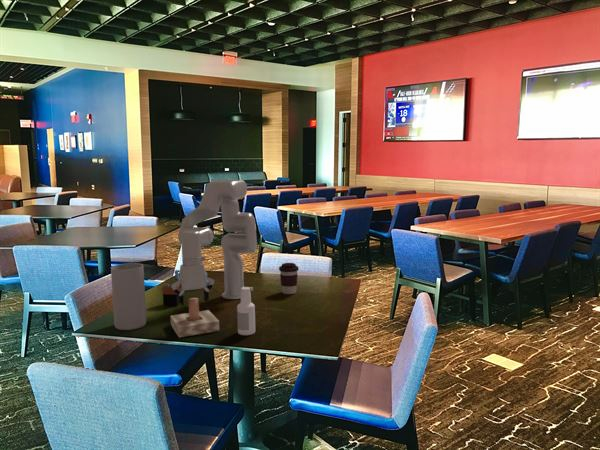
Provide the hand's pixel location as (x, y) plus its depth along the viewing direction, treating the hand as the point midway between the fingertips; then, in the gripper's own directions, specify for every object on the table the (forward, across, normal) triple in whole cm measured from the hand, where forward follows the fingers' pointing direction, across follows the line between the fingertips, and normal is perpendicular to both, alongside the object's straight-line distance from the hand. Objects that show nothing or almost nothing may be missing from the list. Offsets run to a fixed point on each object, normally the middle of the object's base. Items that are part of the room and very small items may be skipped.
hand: (194, 302), depth 193 cm
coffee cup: (+12, -56, -30) cm, 64 cm away
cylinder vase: (+10, +23, -14) cm, 29 cm away
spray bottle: (+11, -17, +16) cm, 25 cm away
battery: (+11, +2, -36) cm, 38 cm away
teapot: (+12, -14, -64) cm, 67 cm away
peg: (+10, 0, 0) cm, 10 cm away
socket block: (+10, 0, 0) cm, 10 cm away
